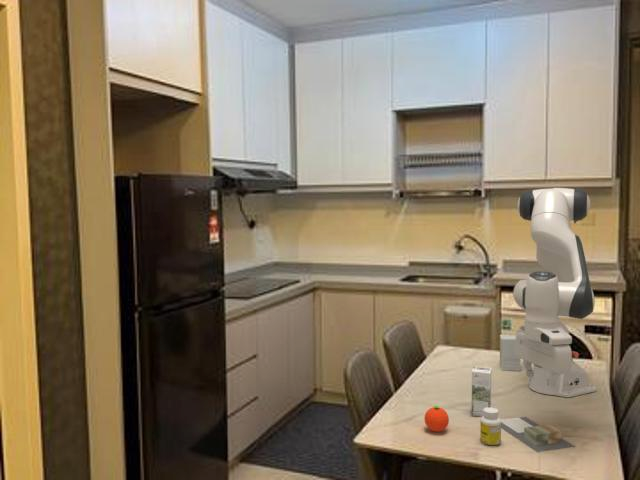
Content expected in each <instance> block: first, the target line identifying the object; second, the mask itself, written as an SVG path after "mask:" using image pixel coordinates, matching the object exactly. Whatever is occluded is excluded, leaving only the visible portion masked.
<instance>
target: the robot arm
mask: <svg viewBox="0 0 640 480" xmlns="http://www.w3.org/2000/svg"><path fill="white" fill-rule="evenodd" d="M590 208H591V200H590V196H589V195H588V192H587V191H586V189H582V188H576V187H575V188H570V187H569V188H566V187H552V188H540V189H532V188H531V189H527V190H524V191H523V192H522V193H521V194H520V196H519V198H518V201H517V210H518V214H519V215H520V218H522V219H523V220H524V221H530V235H531V236H530V237H531V239H532V241H534V243H535V244H536V253H535V254H536V255H535V256H536V257H535V258H536V262H537V263H538V264H539V265H540V266H541V267H542V268H544V269H546V270H548V271H543V270H542V271H533V272H531V273H529V274H528V276H527V278H526V279H520V280H519V281H517V282H516V284H515V285H514V287H513V296H512V297H513V299H514V301H515V303H516V305H518V307H519V308H521V309H522V310H523V311H524V312H525V317H524V325H521V326H520V327H519V328H518V329H517V333H516V339H515V347H514V353H515V356H516V357H518V358H520V360H522V364H523V366H524V370H525V376H526V377H528V378H531V379H530V381H529V385H528V388H529V389H530V390H532V391H534V392H536V393H540V394H544V395H549V396H550V395H551V396H556V397H557V396H559V397H562V398H573V397H576V396H581V395H585V394H589V393H595V392H596V391H597V387H596V386H595V385H593V384H592V383H590V378H589V374H588V372H587V371H586V370H585V369H584V368H583V367H581V366H580V364H577V362H576V361H574V360H573V358H575V359H577V358H579V355H580V353H578V351H574V350H572V348H571V344H572V343H573V337H572V335H570V331H569V328H568V327H567V325H566V324H565V323H563V322H562V321H560V320H559V319H560V318H559V317H569V318H571V319H572V318H573V319H579V320H583V319H585V318H587V317H588V316H590V315H591V314H592V313H594V309H595V306H596V305H595V304H596V301H595V295H594V291H593V287H592V286H591V282H590V277H589V271H588V266H587V262H586V261H587V260H586V255H585V251H584V246H583V243H582V240H581V238H580V236H579V235H577V234H575V233H574V232H573V230H572V226H571V221H572V222H573V224H577V222H580V221H582V220H584V219H585V218H586V217H587V215H588V214H589V212H590V210H591V209H590ZM550 271H551V272H550ZM532 365H533V366H532Z"/></svg>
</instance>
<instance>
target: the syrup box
mask: <svg viewBox="0 0 640 480" xmlns="http://www.w3.org/2000/svg"><path fill="white" fill-rule="evenodd" d="M471 369H472V370H471V411H470V412H471V417H478V418H481V417H482V416H484V415H483V409H484V408H487V407H490V408H492V371H493V370H492V367H484V366H472V368H471Z"/></svg>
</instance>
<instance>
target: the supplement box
mask: <svg viewBox="0 0 640 480" xmlns="http://www.w3.org/2000/svg"><path fill="white" fill-rule="evenodd" d="M516 335H517V334H516ZM516 335H514V334H513V335H512V334H500V335H499V367H500V369H501V371H511V372H512V371H513V372H514V371H515V372H520V371H521V358H518V357H516V356H515V353H514V347H515V339H516Z"/></svg>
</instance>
